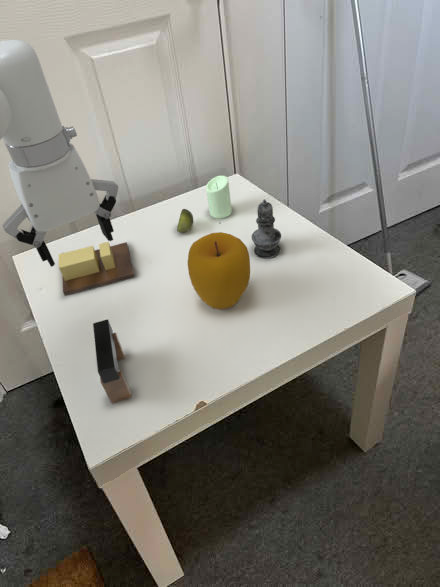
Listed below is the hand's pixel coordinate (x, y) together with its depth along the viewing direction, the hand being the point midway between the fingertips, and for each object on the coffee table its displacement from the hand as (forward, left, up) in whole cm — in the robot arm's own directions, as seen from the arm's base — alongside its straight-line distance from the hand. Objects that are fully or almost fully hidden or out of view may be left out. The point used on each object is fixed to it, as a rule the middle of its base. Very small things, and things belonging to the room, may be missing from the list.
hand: (79, 249), depth 72 cm
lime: (+19, +21, -17) cm, 33 cm away
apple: (+21, -3, -17) cm, 27 cm away
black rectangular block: (0, -14, -16) cm, 21 cm away
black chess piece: (+33, +7, -17) cm, 38 cm away
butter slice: (+2, +15, -15) cm, 22 cm away
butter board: (-1, +15, -16) cm, 22 cm away
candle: (+28, +24, -17) cm, 41 cm away
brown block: (0, -14, -16) cm, 21 cm away
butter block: (-4, +15, -15) cm, 22 cm away
